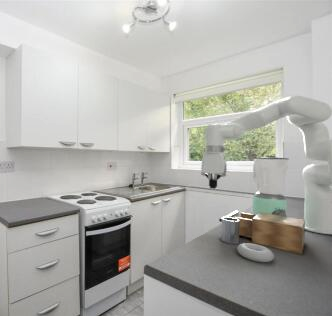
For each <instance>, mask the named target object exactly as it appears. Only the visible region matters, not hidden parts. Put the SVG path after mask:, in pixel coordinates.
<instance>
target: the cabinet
mask: <svg viewBox="0 0 332 316" xmlns="http://www.w3.org/2000/svg"><path fill="white" fill-rule="evenodd" d="M305 234H306V230H305V220H304V218H303V219H302V218H297V217H290V216H287V217H285V216H279V215H272V214H266V213H259V214H257V215H256V216H255V217H254V218H252V238H251V243H253V244H257V245H261V246H266V247H271V248H275V249H279V250H283V251H287V252H291V253H295V254H299V255H302V254H303V250H304V246H305V237H306V235H305Z"/></svg>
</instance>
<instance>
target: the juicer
mask: <svg viewBox="0 0 332 316" xmlns="http://www.w3.org/2000/svg"><path fill="white" fill-rule="evenodd" d="M289 159H290V158H288V157H280V156H279V157H278V156H275V155H270V156H269V155H266V156H261V157H253V165H252V178H253V181H254V182H255V183H256V186H257V192H255V193H254V194H253V196H252V213H251V214H253V215H257V214H259V213H266V214H272V215H279V216H285V217H288V215H287V214H288V211H287V209H288V201H287V198H286V196H285V195H284V194H282V192H283V188H284V183H285V178H286V174H287V171H288V166H289Z"/></svg>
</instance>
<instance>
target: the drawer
mask: <svg viewBox="0 0 332 316" xmlns="http://www.w3.org/2000/svg"><path fill="white" fill-rule="evenodd" d="M255 216H256V215H253V214H252V213H246V212H240V217H239V210H235V211H233V212H231V213H229V214H227V215H224V216H223V217H231V218H236V219H239V220H240V222H239V236H240V237H241V236H242V237H244V238H250V239H252V218H254V217H255ZM218 221H219V222H220V223H222V217H221V218H218Z"/></svg>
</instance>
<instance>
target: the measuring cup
mask: <svg viewBox="0 0 332 316" xmlns="http://www.w3.org/2000/svg"><path fill="white" fill-rule="evenodd" d="M221 218H222V222H221V230H220V233H221V235H220V241H222V242H224V243H226V244H231V245H238V244H239V243H240V235H239V222H240V220H239V219H236V218H231V217H224V216H222V217H221Z"/></svg>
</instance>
